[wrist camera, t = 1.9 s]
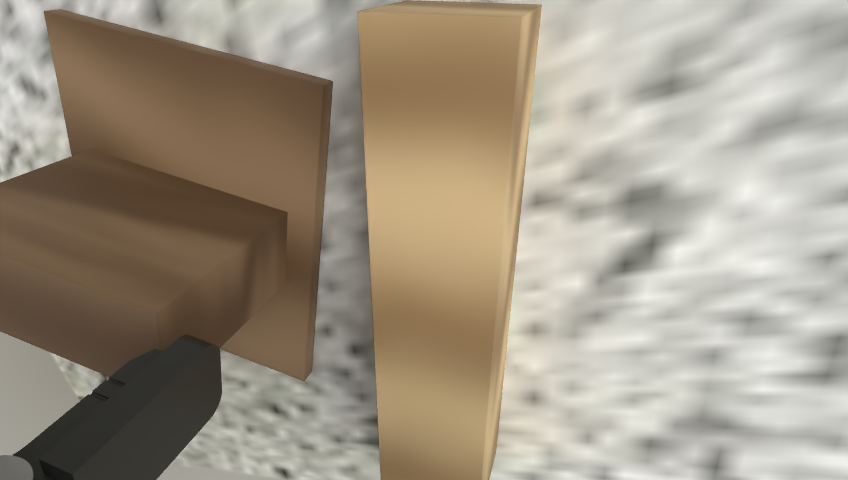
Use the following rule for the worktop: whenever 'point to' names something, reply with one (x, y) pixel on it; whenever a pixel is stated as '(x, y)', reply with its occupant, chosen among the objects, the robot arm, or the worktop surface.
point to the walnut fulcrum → (169, 205)
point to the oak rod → (443, 222)
